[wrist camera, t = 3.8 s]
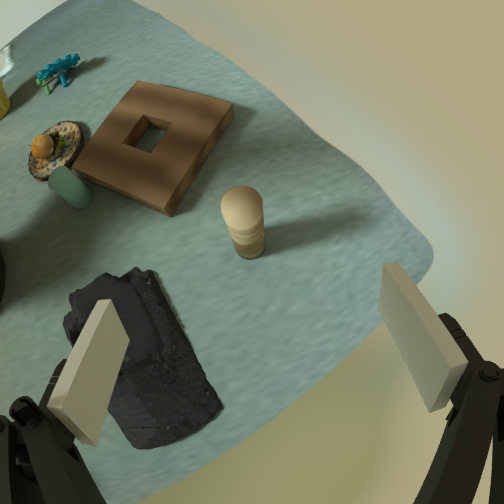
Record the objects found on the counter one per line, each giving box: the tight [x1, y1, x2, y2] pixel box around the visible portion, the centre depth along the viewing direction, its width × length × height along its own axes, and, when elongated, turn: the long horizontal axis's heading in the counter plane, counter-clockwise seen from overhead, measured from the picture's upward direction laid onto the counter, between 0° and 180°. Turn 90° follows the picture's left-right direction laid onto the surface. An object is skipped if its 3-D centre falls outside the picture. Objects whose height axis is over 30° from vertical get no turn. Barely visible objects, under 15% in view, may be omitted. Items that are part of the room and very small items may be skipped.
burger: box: [28, 121, 84, 182], centre depth 42 cm, size 12×12×8 cm
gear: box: [36, 54, 80, 94], centre depth 49 cm, size 11×6×10 cm
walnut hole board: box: [72, 80, 234, 217], centre depth 42 cm, size 18×18×3 cm
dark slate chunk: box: [63, 267, 222, 449], centre depth 34 cm, size 15×22×5 cm
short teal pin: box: [48, 166, 92, 210], centre depth 39 cm, size 4×4×7 cm
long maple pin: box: [221, 186, 265, 260], centre depth 33 cm, size 4×4×12 cm
